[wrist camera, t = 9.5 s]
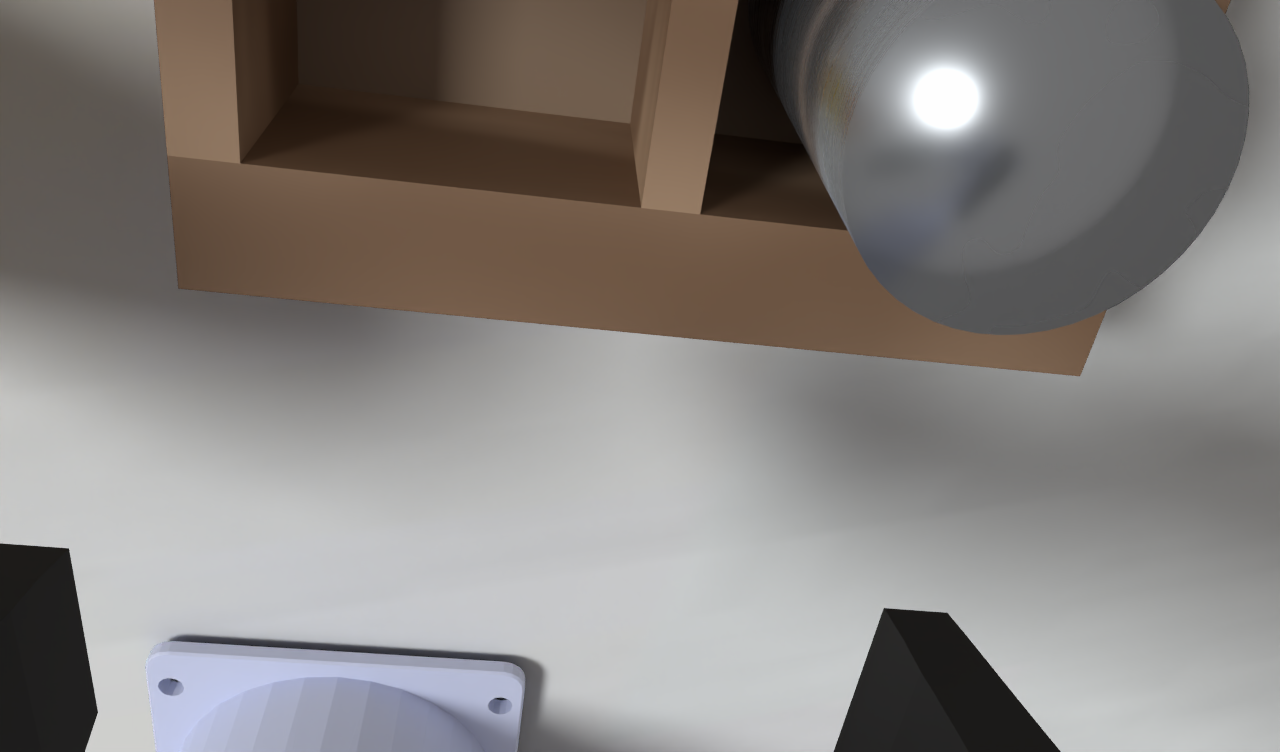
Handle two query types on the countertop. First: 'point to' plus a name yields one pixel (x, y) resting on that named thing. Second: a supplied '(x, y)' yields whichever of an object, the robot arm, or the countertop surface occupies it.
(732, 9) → the socket block
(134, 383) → the countertop surface
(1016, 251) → the peg
